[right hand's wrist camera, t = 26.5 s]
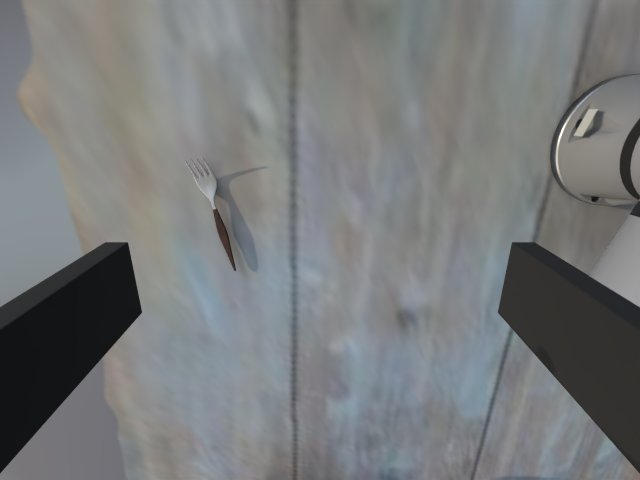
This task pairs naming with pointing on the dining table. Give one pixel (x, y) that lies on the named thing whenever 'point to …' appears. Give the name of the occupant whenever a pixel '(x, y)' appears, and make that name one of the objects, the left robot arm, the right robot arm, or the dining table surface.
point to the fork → (209, 189)
